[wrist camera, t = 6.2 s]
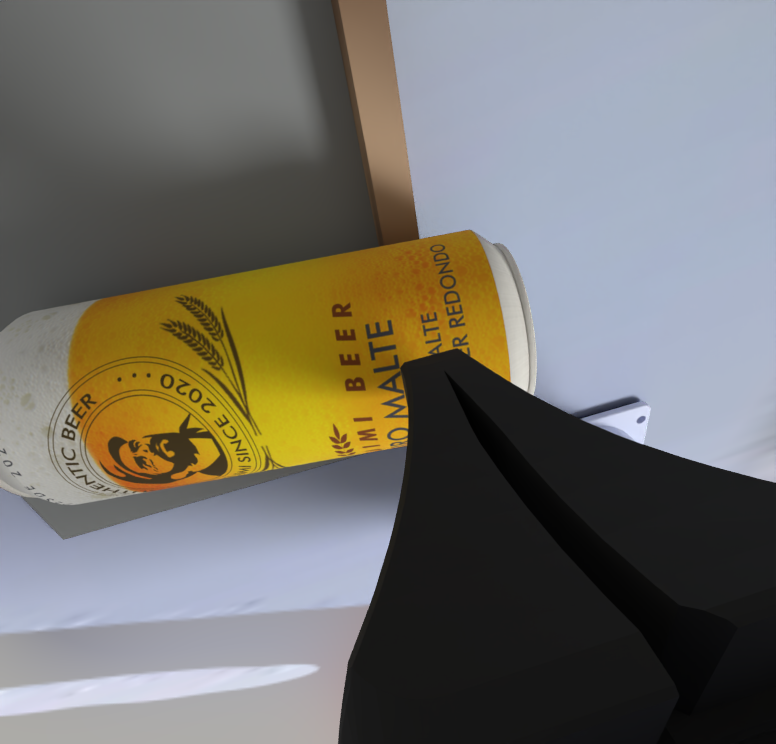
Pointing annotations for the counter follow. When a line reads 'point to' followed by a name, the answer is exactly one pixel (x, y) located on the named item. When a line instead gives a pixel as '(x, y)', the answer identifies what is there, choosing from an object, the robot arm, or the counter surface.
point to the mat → (169, 164)
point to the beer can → (248, 367)
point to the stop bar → (377, 115)
